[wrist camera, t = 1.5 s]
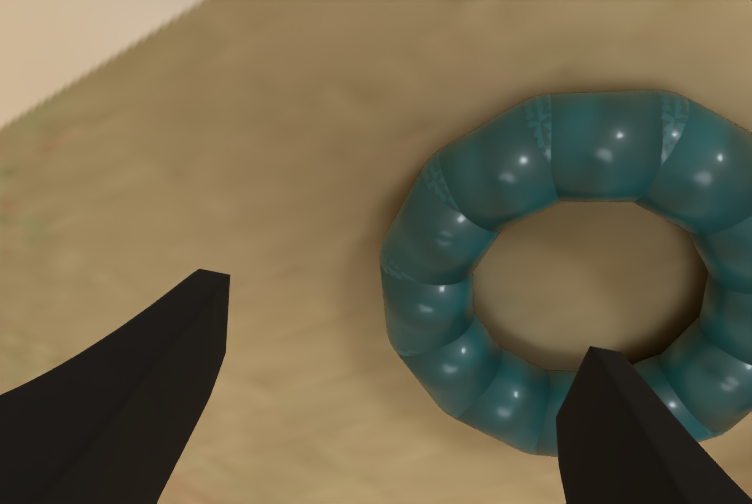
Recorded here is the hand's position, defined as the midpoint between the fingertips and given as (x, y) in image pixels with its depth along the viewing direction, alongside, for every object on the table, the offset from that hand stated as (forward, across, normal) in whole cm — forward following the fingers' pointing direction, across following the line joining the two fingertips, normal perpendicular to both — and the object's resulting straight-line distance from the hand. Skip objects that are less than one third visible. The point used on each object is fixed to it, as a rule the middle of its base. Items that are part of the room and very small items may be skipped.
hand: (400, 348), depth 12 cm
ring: (+7, -6, +2) cm, 9 cm away
